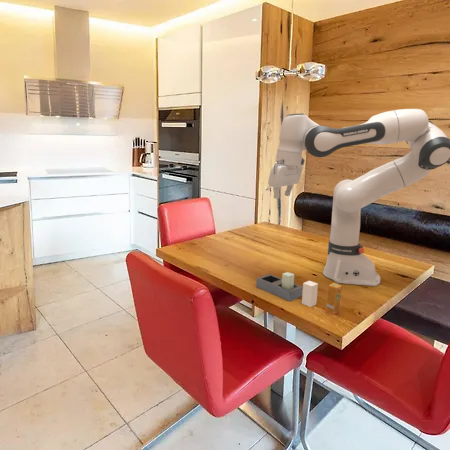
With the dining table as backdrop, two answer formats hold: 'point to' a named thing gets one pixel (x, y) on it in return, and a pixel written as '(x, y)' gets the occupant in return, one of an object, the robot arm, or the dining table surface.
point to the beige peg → (288, 280)
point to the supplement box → (333, 298)
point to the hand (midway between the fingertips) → (281, 197)
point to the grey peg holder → (278, 287)
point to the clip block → (309, 293)
